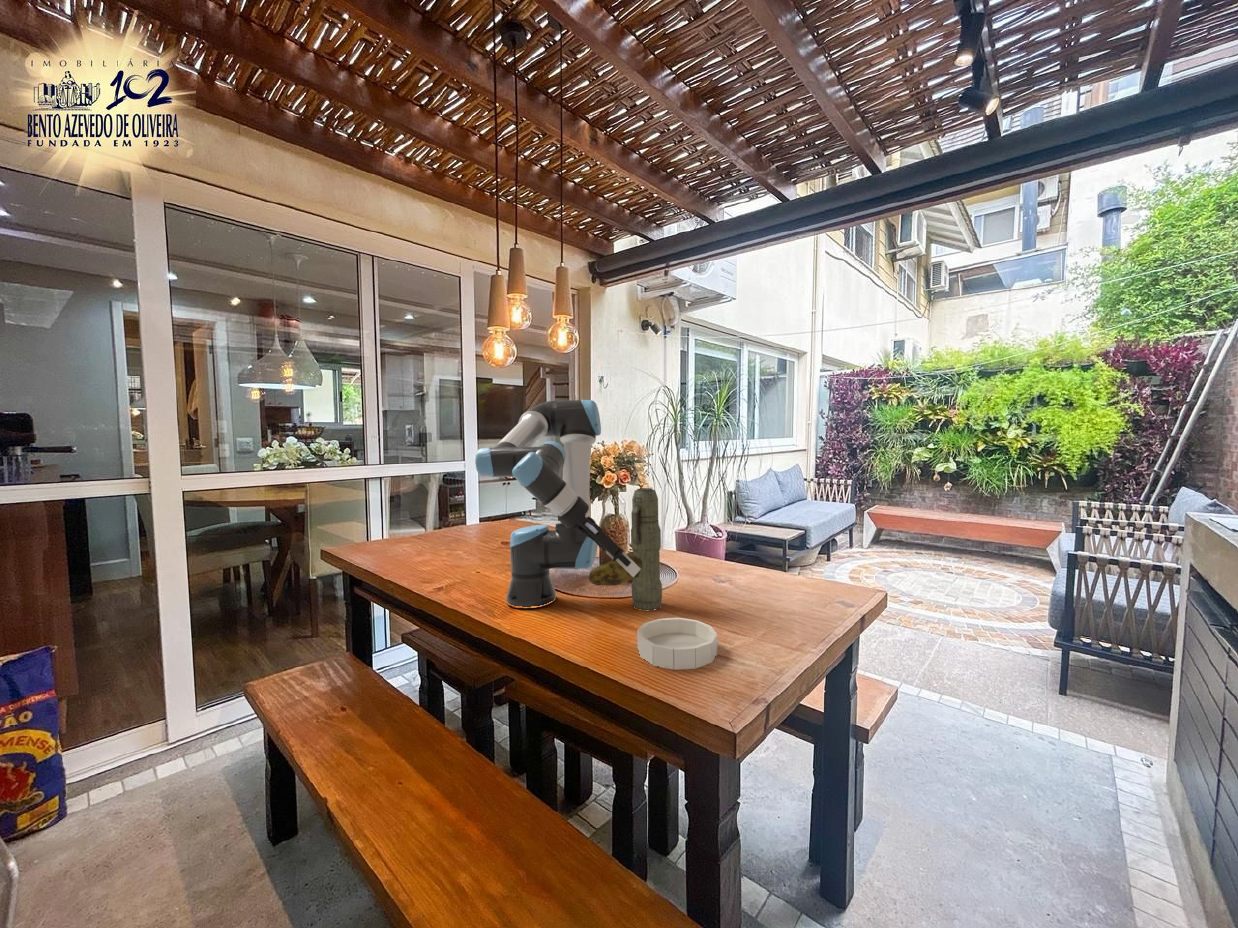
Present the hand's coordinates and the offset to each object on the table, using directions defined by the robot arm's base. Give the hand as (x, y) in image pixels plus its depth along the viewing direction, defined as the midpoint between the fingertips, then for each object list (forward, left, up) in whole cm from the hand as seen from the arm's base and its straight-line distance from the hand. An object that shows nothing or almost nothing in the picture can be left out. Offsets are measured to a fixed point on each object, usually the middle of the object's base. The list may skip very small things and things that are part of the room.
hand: (631, 568), depth 122 cm
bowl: (+10, -9, -18) cm, 22 cm away
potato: (-4, 0, -4) cm, 6 cm away
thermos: (+7, +22, -18) cm, 29 cm away
